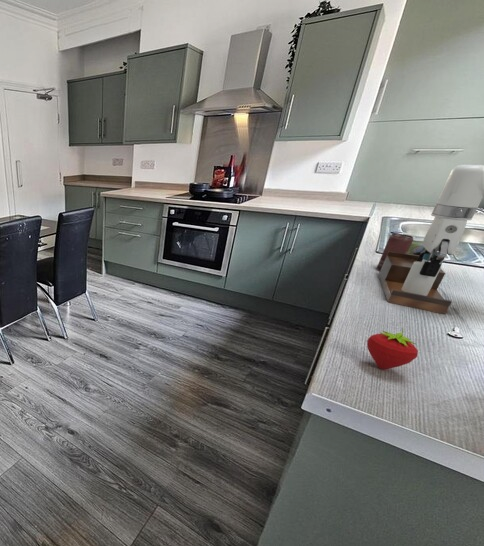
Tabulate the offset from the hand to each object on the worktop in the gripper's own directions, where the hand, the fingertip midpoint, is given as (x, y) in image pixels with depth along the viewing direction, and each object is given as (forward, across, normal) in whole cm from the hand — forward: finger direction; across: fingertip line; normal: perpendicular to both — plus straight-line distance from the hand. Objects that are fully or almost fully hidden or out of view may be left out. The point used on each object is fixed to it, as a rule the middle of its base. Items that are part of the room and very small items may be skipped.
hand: (424, 271), depth 92 cm
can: (+10, +27, +3) cm, 29 cm away
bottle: (+7, 0, 0) cm, 7 cm away
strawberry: (+10, -49, +11) cm, 51 cm away
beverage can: (+10, +36, -5) cm, 38 cm away
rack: (+9, +6, 0) cm, 11 cm away
